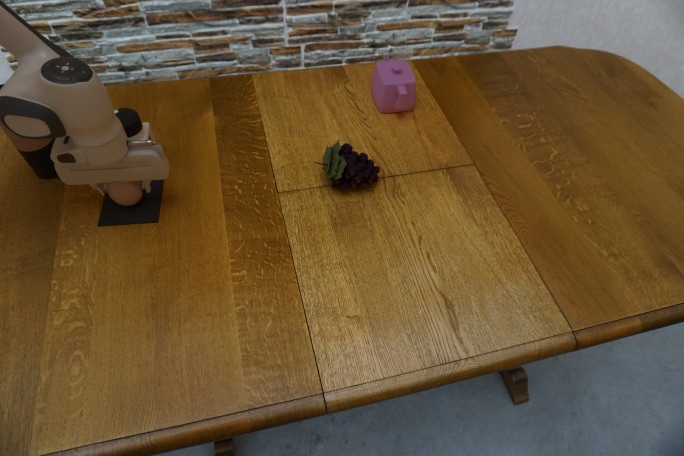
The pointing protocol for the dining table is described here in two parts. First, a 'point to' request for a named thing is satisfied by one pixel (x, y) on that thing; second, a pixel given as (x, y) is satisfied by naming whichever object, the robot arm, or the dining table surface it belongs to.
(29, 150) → the travel mug
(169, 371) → the dining table surface
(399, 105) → the teapot
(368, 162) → the fruit
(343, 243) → the dining table surface
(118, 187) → the egg
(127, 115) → the container
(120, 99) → the dining table surface
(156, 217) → the mat
